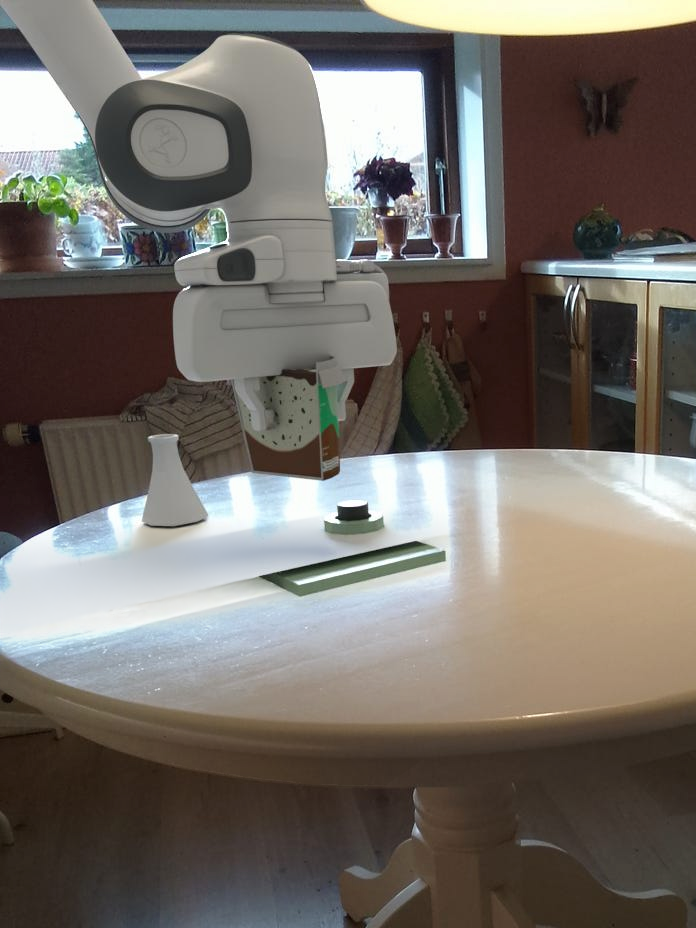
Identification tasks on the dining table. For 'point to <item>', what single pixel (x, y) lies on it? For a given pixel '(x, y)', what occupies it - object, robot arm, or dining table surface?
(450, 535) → the dining table surface
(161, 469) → the flask
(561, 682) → the dining table surface
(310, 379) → the food container
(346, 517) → the tare button
